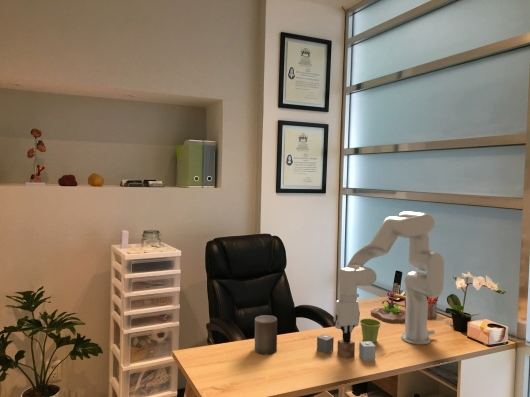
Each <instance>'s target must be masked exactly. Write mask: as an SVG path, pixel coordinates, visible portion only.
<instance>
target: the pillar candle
mask: <svg viewBox="0 0 530 397" xmlns="http://www.w3.org/2000/svg"><path fill="white" fill-rule="evenodd" d="M277 350H278V318H277V317H276V316H274V315H267V314H266V315H265V314H264V315H259V316H256V317H255V318H254V352H256V353H257V354H261V355H273V354H275V353H276V352H277Z"/></svg>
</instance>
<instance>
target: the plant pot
mask: <svg viewBox="0 0 530 397" xmlns="http://www.w3.org/2000/svg"><path fill="white" fill-rule="evenodd" d="M381 322H382V321H381V320H380V321H379V319H375V318H362V319H359V323H360V326H361V333H362V334H361V335H362V341H371V342H372V343H373V344H374V343H377V342H378V340H377V339H378V335H379V330H380V326H381V325H382V323H381Z"/></svg>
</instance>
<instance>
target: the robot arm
mask: <svg viewBox="0 0 530 397" xmlns="http://www.w3.org/2000/svg"><path fill="white" fill-rule="evenodd" d="M434 227H435V219H434V217H433V215H431V214H429V213H426V212H418V211H410V210H409V211H407V210H406V211H405V210H404V211H402V212H400V213H399V215H398V216H393V215H392V216H387V217H386V218H385V219H384V221H383V222H382V223H381V224H380V227H379V229H378V230H377V232H376V233H375V235H374V236H373V238H372V239H371V241H370V242H369V243H367V244H366V245H364V246H363V247H362V248H360V249H359V250H357V251H356V252H355V253H354V254H353V255H352V257H351V258H350V260H349V262H348V264H347V266H346V267H342V268H339V271H338V300H336V302H335V305H334V314H333V322H334V323H335V325H334V328H335V329H337V330H341V331H342V339H343V340H344V341H345V342H350V340H351V336H352V332H353V330H354V328H357V327H358V326H359V325H360V324H359V323H360V305H359V301H358V298H359V297H360V294H359V293H358V286H363V287H364V286H365V287H368V286H371V285H374V283H375V282H376V281H377V273H376V271H375V270H373V269H372V268H370V267H368V266H365V265H366V263H368V262H369V261H370V260H373V259H374V258H378V257H382V256H385V255H387V254H389V252H390V251H391V250H392V248H393V245H394V244H395V243H396V241H397V239H398V238H404V239H408V244H409V245H408V263H409V265H410V267H412V268H413V269H416V270H415V271H409V272H408V273H407V274H406V275H405V277H404V281H403V283H404V289H405V311H406V316H405V322H404V324H405V325H404V327H405V328H404V332H403V333H401V336H400V338H401V339H402V340H403V341H404V342H406V343H409V344H413V345H419V346H420V345H428V344H430V343H431V338H430V335H435V334H436V332H435V330H434V329H431V330H429V329H428V313H429V312H428V309H429V301H428V298H432V299H436V298H439V297H440V296H441V294H442V292H443V290H444V281H445V280H444V279H445V259H444V258H443V256H442V255H441V253H439V252H437V251H432V250H430V238H429V233H430V232H431V231H433V229H434ZM417 270H418V271H417ZM420 271H422V272H420ZM425 272H426V273H425Z"/></svg>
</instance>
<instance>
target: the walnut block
mask: <svg viewBox="0 0 530 397" xmlns="http://www.w3.org/2000/svg"><path fill="white" fill-rule="evenodd" d="M355 346H356V342H355V341H353V340H351V339H350V342H345V341H344V340H343V338H342V339H339V340H337V351H336V352H337V355H338V356H339V357H341V358H343V359H345V360H347V359H350V358H354V357H355V351H356V347H355Z"/></svg>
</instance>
